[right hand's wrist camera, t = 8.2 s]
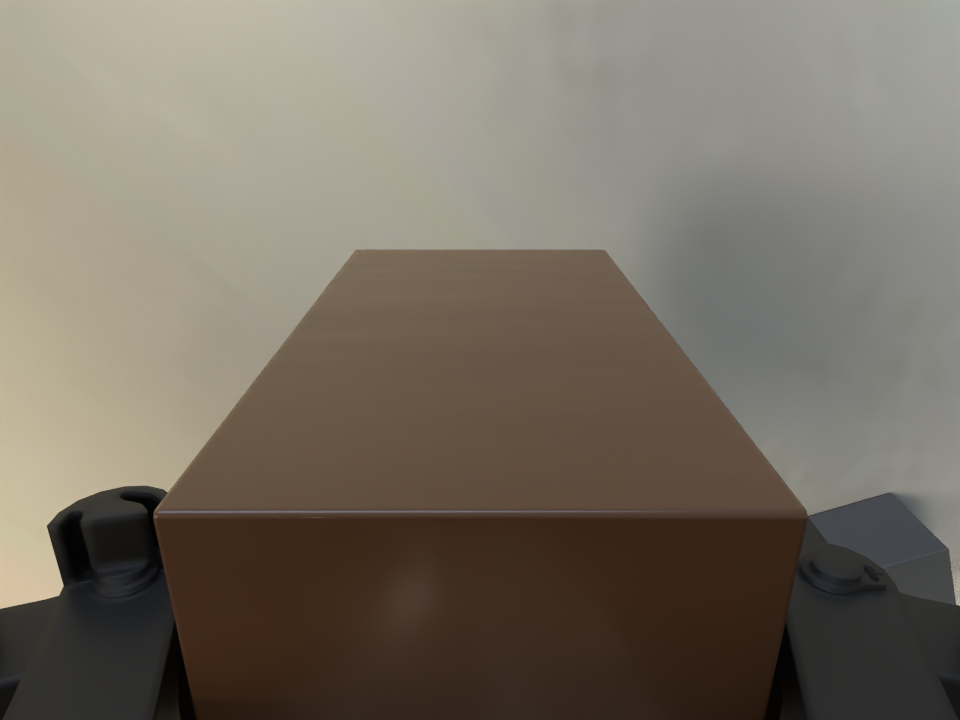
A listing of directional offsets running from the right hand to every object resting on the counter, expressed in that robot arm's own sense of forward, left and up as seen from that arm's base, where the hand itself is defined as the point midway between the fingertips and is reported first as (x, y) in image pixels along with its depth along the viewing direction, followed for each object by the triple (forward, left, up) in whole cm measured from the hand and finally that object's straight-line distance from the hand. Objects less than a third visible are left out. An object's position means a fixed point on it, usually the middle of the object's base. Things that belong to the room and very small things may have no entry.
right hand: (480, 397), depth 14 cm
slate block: (+17, -13, -13) cm, 25 cm away
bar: (0, -10, 0) cm, 10 cm away
